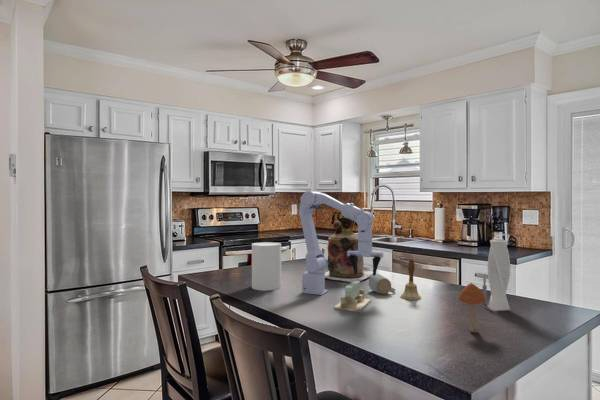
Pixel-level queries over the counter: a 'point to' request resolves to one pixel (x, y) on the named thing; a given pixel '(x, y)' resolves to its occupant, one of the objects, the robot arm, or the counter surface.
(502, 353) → the counter surface
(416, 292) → the hand bell
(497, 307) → the white twisted vase
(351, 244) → the cookie jar
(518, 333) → the counter surface
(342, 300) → the display stand
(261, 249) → the canister
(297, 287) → the counter surface
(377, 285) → the ceramic mug
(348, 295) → the glasses case
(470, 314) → the mushroom
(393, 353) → the counter surface
